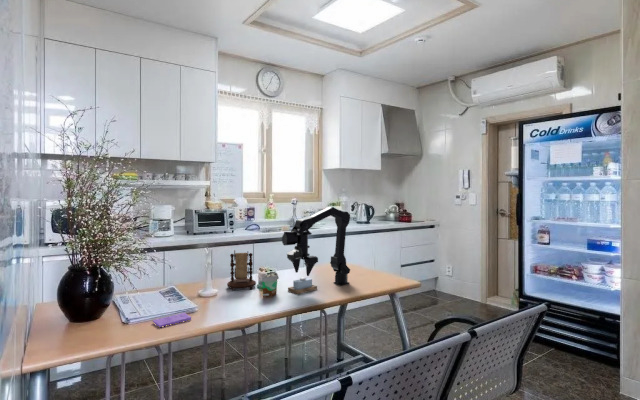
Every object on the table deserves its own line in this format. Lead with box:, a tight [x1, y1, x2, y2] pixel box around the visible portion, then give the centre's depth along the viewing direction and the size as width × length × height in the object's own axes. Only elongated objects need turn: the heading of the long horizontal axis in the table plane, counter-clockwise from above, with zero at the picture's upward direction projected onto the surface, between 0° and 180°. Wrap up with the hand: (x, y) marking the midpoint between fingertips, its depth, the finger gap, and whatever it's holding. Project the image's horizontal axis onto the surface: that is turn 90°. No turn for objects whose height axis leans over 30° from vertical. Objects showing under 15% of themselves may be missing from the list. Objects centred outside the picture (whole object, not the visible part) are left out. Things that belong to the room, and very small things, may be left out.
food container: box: [261, 271, 279, 298], centre depth 182 cm, size 12×6×10 cm, turn 168°
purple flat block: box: [152, 312, 192, 327], centre depth 147 cm, size 7×13×2 cm, turn 132°
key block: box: [292, 277, 313, 290], centre depth 190 cm, size 4×9×6 cm, turn 131°
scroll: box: [226, 249, 257, 291], centre depth 195 cm, size 15×15×20 cm
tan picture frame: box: [287, 284, 318, 295], centre depth 190 cm, size 13×8×2 cm, turn 131°
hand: (302, 274), depth 190 cm, fingers open, 9 cm apart
